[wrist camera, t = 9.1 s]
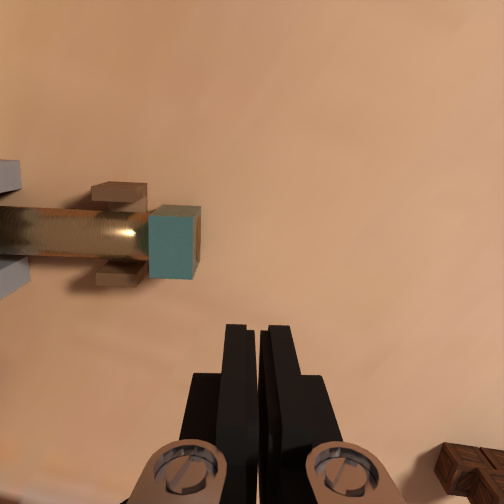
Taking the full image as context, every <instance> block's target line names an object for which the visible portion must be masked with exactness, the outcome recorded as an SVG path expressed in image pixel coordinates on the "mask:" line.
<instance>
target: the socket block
mask: <svg viewBox="0 0 504 504" xmlns="http://www.w3.org/2000/svg"><path fill="white" fill-rule="evenodd" d="M17 189H22V185H21V175H20V164H19V161H18V160H0V193H2V192H7V191H12V190H17ZM29 281H30V271H29V260H28V256H19V255H0V300H1V299H3V298H4V297H6V296H7V295H9V294H10V293H12V292H14V291H15V290H17V289H18V288H20V287H21V286H23V285H25V284H26V283H28V282H29Z"/></svg>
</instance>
